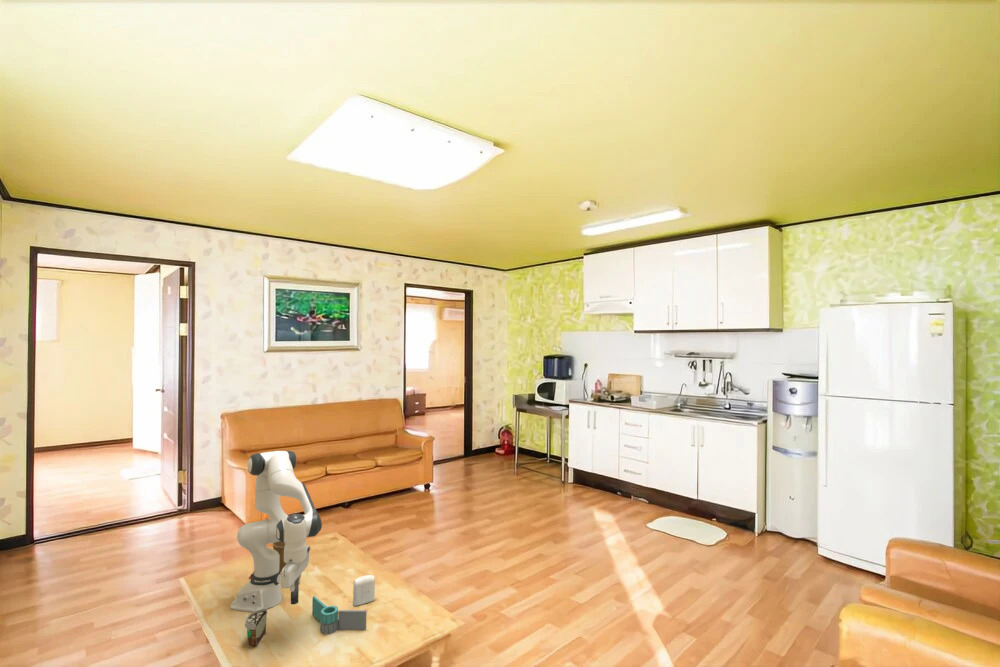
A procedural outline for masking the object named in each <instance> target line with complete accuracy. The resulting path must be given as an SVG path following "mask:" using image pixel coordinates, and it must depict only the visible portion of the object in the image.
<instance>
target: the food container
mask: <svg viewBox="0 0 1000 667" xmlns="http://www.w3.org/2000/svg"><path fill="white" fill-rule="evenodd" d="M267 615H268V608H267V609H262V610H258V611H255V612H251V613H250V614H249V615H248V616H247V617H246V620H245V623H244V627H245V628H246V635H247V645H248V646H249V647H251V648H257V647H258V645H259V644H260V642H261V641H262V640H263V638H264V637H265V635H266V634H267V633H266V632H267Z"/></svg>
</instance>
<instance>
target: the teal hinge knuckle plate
mask: <svg viewBox="0 0 1000 667" xmlns="http://www.w3.org/2000/svg"><path fill="white" fill-rule="evenodd" d="M311 601H312V603H311V604H312V606H311V610H312V615H313V616H314V617H315V618H316V619H317V620H318V621H319V622H320V623H321V622H322V623H323V624H331V623H334V622H336V621H337V620H338V611H339V607H338V606H337V605H326V604H325V603H324V602H323V601H321V600H320V599H319V598H318V597H316V596H315V595H313V596H312V600H311Z"/></svg>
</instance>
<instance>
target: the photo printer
mask: <svg viewBox="0 0 1000 667" xmlns="http://www.w3.org/2000/svg"><path fill="white" fill-rule="evenodd" d="M375 580H376V579H375V575H373V574H367V575H361V576H359V577H357V578H355V579H354V581H353V591H352V593H353V596H352V597H353V598H352V605H353V606H354V607H356V606H360V605H364V604H367V603H372V602H373V601H375V584H376V581H375Z"/></svg>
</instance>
